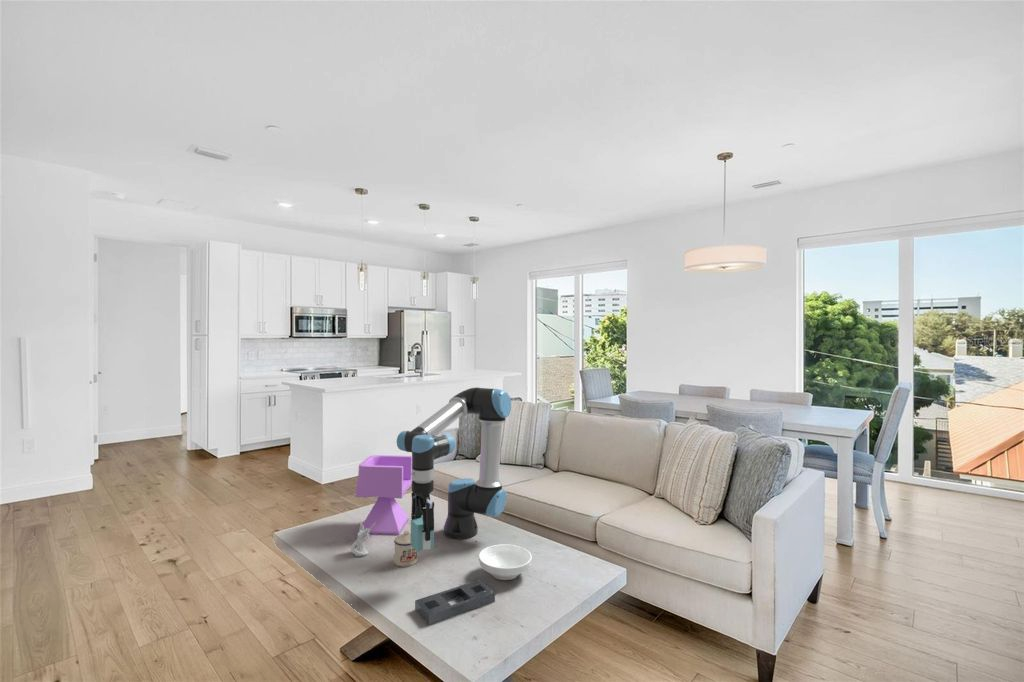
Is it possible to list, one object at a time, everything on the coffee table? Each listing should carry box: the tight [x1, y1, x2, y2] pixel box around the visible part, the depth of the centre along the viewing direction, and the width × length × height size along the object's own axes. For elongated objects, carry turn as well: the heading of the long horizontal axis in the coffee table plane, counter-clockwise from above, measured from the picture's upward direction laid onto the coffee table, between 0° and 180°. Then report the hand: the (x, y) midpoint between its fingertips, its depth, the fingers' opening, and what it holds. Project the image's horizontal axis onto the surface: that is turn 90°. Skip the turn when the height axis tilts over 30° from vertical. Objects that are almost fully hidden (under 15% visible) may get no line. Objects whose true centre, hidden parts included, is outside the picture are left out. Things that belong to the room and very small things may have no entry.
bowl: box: [478, 543, 533, 581], centre depth 179 cm, size 20×20×7 cm
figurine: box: [350, 521, 375, 557], centre depth 195 cm, size 11×8×12 cm
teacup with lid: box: [393, 530, 422, 568], centre depth 188 cm, size 12×9×12 cm
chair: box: [355, 454, 413, 536], centre depth 221 cm, size 20×20×30 cm
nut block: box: [410, 517, 435, 553], centre depth 171 cm, size 6×6×9 cm
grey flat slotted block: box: [414, 579, 496, 626], centre depth 158 cm, size 24×10×3 cm, turn 125°
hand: (422, 545), depth 171 cm, fingers closed on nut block, 6 cm apart
